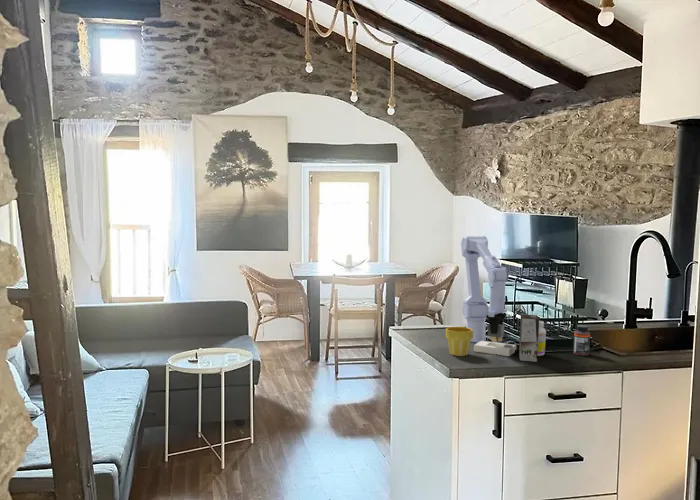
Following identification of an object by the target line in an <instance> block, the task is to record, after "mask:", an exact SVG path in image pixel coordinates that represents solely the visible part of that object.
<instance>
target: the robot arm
mask: <svg viewBox="0 0 700 500" xmlns="http://www.w3.org/2000/svg"><path fill="white" fill-rule="evenodd" d="M460 246H461V255H462V257H464V258H465V267H466V279H467V290H468V297H467V298H465V300H463V302H462V316H463V318H464V319H465V320H466V327H465V328H470V329H472V330H473V338H472V339H471V342H470V343H476V344H477V343H478V342H480V341H482V340H483V341H487V340H486V338H487V337H486V329H487V323H486V322H485V321H486V320H487V322H488V325H490V330H491V333H492V334H497V331H498V325H499V324H504V320H505V318H506V316H507V312H508V310H507V309H505V300H506V298H505V297H506V283H507V282H508V281H509V277H510V276H509V270H508V268H507V267H504V266H502V265H501V263H500V262H499V260H498V258H497V257H496V256H495V255H492V254H491V252H490V249H489V241H488V238H487V237H486V236H485V235H481V236H480V235H479V236H473V235H472V236H471V235H469V236H468V235H463V238H462V239H461V243H460ZM479 258H482V265H483V267H484V268H485V270H486V272H487V273H488V274H487V279H488V286H489V287H490V288H489V289H490V290H489V305H488V301H487V299H485V298H484V297H483V296H482V295H481V294H482V293H481V282H480V274H479V264H478V263H479V262H478V260H479Z"/></svg>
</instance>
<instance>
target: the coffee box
mask: <svg viewBox="0 0 700 500" xmlns="http://www.w3.org/2000/svg"><path fill="white" fill-rule="evenodd" d="M539 321H540V318H539V316H538V315H537V314H520V323H519V324H520V326H519V345H518V346H519V349H518V356H519V357H518V358H519V360H520V361H523V362H534V363H535V362H536V363H537V361H538V356H537V351H538V333H539Z"/></svg>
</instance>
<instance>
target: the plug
mask: <svg viewBox="0 0 700 500" xmlns="http://www.w3.org/2000/svg"><path fill="white" fill-rule="evenodd" d="M487 336H488V337H490V341H491V342H502V341H503V337H505V324H504V323H503V324H499V325H498V331H497V334H492V333H491V330H490V325H489V324H488V325H487Z"/></svg>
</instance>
